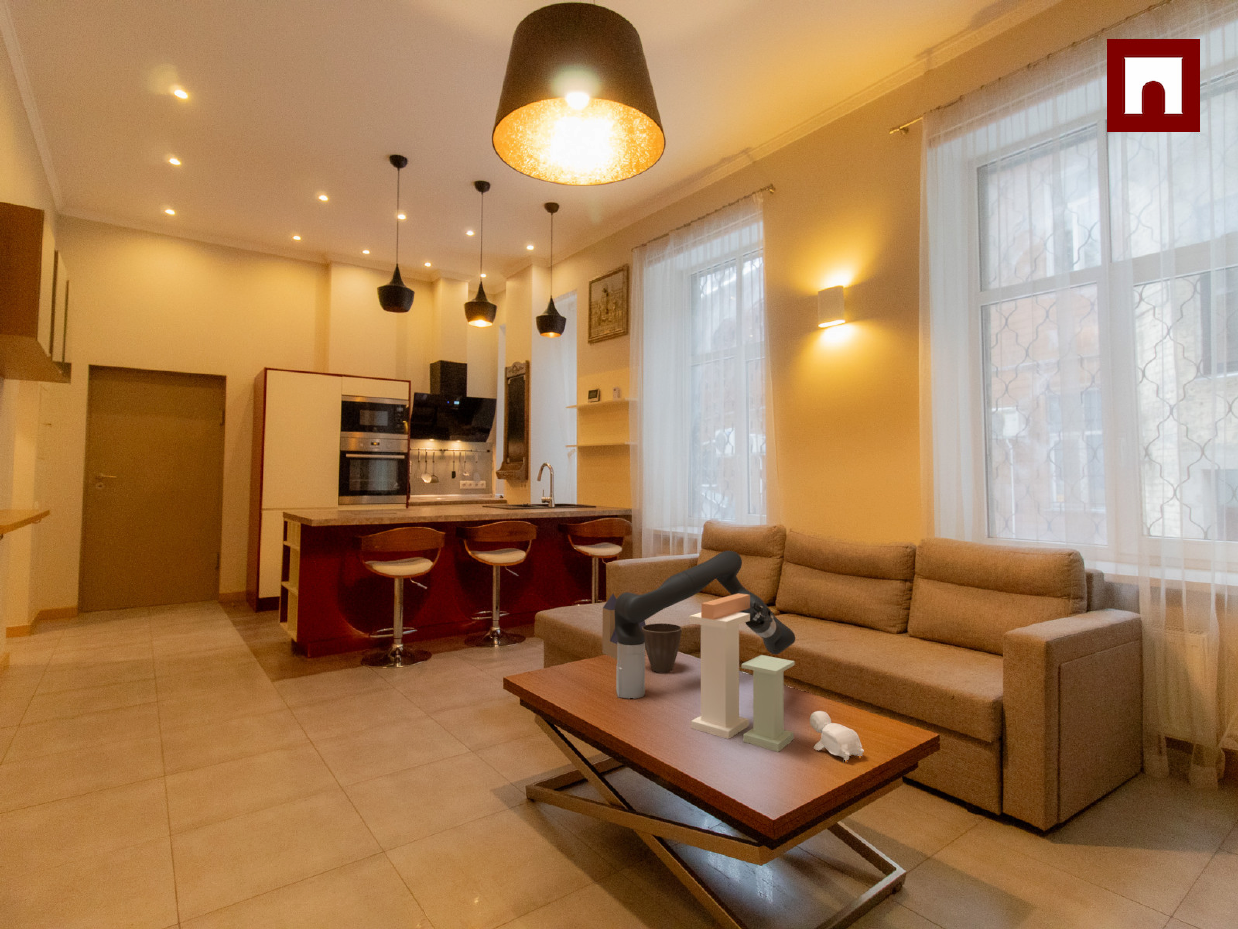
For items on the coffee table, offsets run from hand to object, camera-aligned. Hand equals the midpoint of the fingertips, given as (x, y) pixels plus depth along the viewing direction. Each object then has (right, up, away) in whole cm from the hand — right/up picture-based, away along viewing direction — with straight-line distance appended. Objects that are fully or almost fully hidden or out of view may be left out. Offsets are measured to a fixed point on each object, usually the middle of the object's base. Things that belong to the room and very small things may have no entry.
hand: (740, 602), depth 186 cm
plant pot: (-21, -36, +44) cm, 60 cm away
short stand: (+4, -33, -21) cm, 39 cm away
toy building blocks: (-33, -37, +67) cm, 83 cm away
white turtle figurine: (+19, -33, -27) cm, 47 cm away
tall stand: (-8, -33, -11) cm, 36 cm away
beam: (-5, -1, -7) cm, 9 cm away
